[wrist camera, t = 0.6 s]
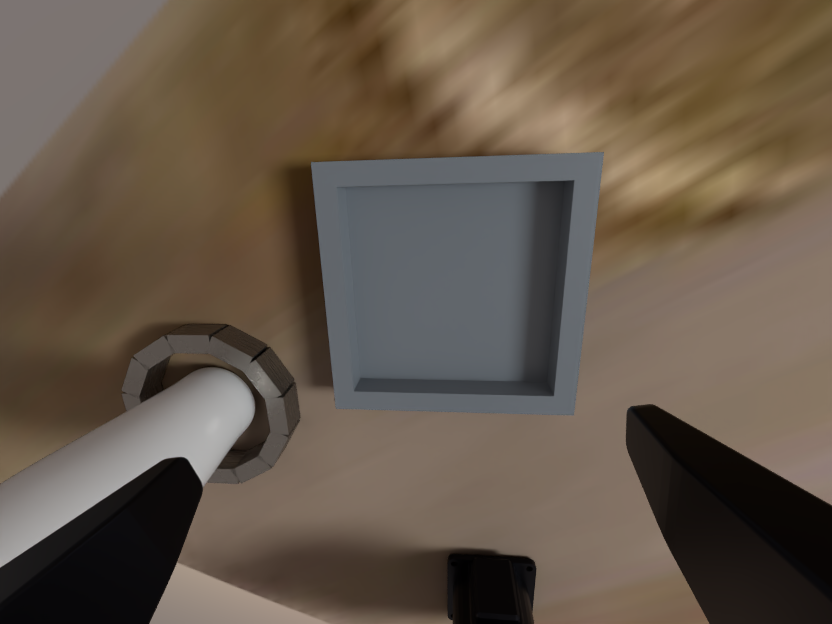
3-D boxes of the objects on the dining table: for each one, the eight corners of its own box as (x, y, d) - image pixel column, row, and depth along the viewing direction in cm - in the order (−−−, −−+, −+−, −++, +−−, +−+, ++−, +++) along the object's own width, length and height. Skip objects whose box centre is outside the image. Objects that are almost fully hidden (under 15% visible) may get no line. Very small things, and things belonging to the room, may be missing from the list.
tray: (562, 393, 24) (573, 415, 22) (346, 388, 26) (335, 408, 23) (586, 156, 20) (604, 152, 18) (326, 165, 21) (310, 162, 19)
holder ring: (307, 466, 28) (296, 486, 26) (166, 460, 29) (146, 479, 27) (287, 324, 25) (274, 336, 23) (129, 323, 26) (104, 334, 24)
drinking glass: (181, 340, 26) (-154, 527, 12) (277, 372, 26) (61, 597, 12) (171, 421, 28) (-122, 663, 14) (259, 451, 28) (59, 722, 14)
